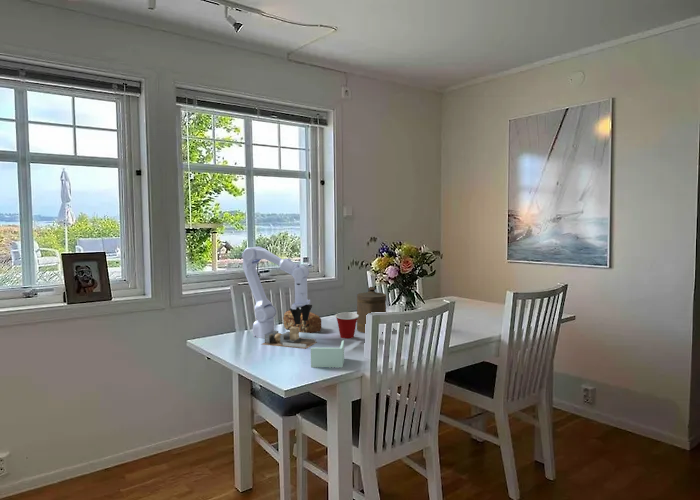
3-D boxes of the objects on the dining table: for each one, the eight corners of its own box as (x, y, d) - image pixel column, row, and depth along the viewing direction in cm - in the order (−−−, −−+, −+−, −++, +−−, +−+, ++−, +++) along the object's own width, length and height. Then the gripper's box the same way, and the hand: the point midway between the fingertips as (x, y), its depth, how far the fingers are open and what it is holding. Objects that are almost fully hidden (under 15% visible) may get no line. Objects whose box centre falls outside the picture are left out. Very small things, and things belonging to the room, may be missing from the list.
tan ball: (272, 342, 221) (272, 333, 220) (277, 340, 224) (277, 331, 224) (280, 343, 219) (280, 334, 219) (285, 341, 223) (284, 332, 223)
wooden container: (391, 328, 252) (391, 285, 251) (377, 334, 240) (377, 289, 238) (366, 325, 260) (365, 284, 259) (351, 331, 248) (350, 287, 246)
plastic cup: (338, 343, 224) (338, 317, 223) (333, 338, 234) (332, 313, 233) (361, 342, 227) (361, 316, 226) (355, 336, 237) (354, 311, 236)
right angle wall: (344, 358, 201) (344, 340, 200) (342, 367, 189) (342, 348, 188) (314, 358, 202) (314, 340, 201) (310, 367, 190) (310, 348, 189)
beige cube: (280, 344, 218) (280, 328, 217) (288, 340, 224) (287, 325, 224) (293, 345, 215) (293, 329, 215) (301, 341, 222) (300, 326, 221)
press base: (260, 347, 219) (260, 335, 218) (274, 341, 230) (274, 329, 229) (305, 352, 210) (305, 339, 210) (317, 345, 222) (317, 333, 221)
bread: (283, 329, 254) (282, 310, 253) (299, 325, 262) (299, 307, 261) (306, 335, 241) (305, 315, 240) (322, 331, 248) (322, 311, 248)
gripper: (301, 295, 217) (301, 326, 218) (316, 290, 230) (316, 319, 231) (287, 294, 219) (287, 325, 220) (302, 290, 233) (303, 318, 234)
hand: (301, 322), depth 226 cm, fingers open, 7 cm apart
